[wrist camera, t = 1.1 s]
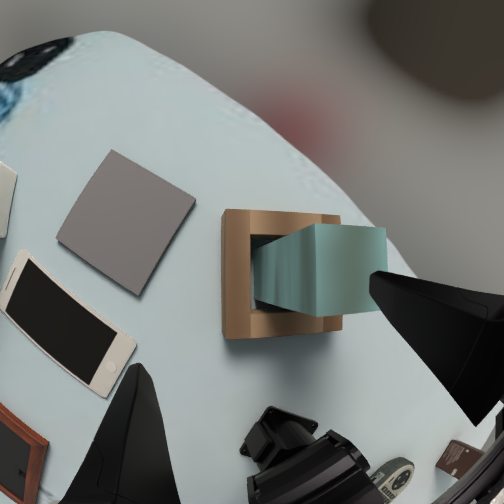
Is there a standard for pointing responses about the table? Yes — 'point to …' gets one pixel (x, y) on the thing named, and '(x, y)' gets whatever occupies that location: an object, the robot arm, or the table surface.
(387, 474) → the communication device
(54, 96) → the table surface
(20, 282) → the smartphone
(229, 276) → the pocket block
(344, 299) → the peg
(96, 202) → the mat
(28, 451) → the picture frame
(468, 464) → the box
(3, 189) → the medicine bottle
